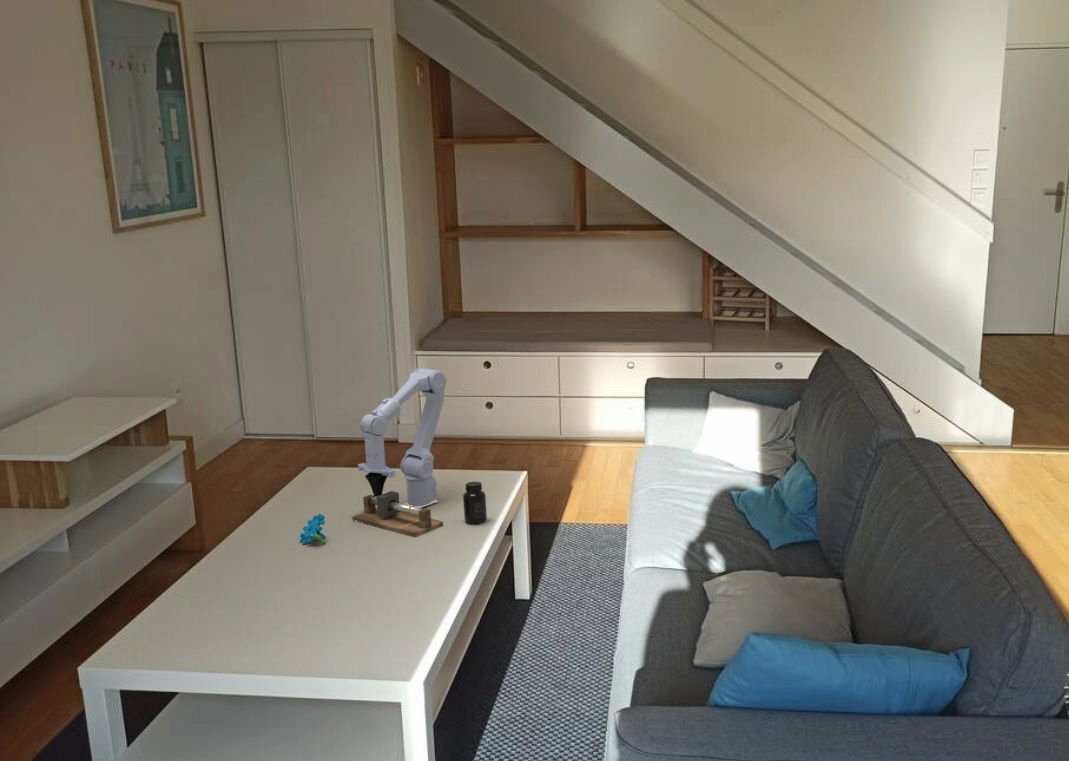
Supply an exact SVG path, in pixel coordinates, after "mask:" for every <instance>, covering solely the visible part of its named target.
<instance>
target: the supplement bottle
mask: <svg viewBox="0 0 1069 761" xmlns="http://www.w3.org/2000/svg"><path fill="white" fill-rule="evenodd" d="M486 495H487V494H486V492H485V491H483V486H482V482H481V481H470V482H466V483H465V492H464V493H463V496H462V498H463V514H464V516H463V518H464V522H465V523H466V524H467V525H470V526H471V525H475V526H476V525H481V524H484V522H485V523H486V522H487V520H488V515H487V514H488V513H487V498H486Z"/></svg>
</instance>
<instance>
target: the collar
mask: <svg viewBox="0 0 1069 761" xmlns="http://www.w3.org/2000/svg"><path fill="white" fill-rule="evenodd" d="M376 498H377V505H376V507H377V511H378V517H382V518H387V517H389V516H392V515H395V514H397V513H400V511H397V510H393V509H389V508H388V501H391V502H395V503H399V504H400V493H399V492H398V491H392V490H390V491H389V492H388V491H387V492H386V493H382V495H379V496H377V497H376Z"/></svg>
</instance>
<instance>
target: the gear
mask: <svg viewBox="0 0 1069 761" xmlns="http://www.w3.org/2000/svg"><path fill="white" fill-rule="evenodd" d="M325 518H326V517H325V515H323V514H321V513H318V514H317V515H316V514H315V515H313V516H312V519H309V520H307V521H306V523H307V526H306V525H304V526H303V528H302V531H304V532H300V535H299V537H300V538H299V542H300V543H303V544H304V545H307V543H311V542H312V541H313V539H315V541H317V542H321V543H322V544H323V545H327V541H326V540H325V539H326V538H327V536H326V535H325V534H324V533H322V532H321V531H322V530H323V527H322V526H323V525H324V524H326V520H325ZM321 525H322V526H321Z"/></svg>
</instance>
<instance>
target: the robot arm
mask: <svg viewBox="0 0 1069 761" xmlns="http://www.w3.org/2000/svg"><path fill="white" fill-rule="evenodd" d="M447 381H448V380H447V377H446V376H445V374H444V372H443V371H441V370H439V369H437V370H435V369H430V368H425V367H421V366H420V367H417V368H415V369H414V370H413V371H412V372H411V373H410V374H409V378H408V380H407V381H406V382H405V383H404V384H403V385H402V386H401V387H400V389H399V390H398V391H397V392H396V394H394V396H393V397H387V398H383V399H382V401H381V404H379V405H378V406H377V407H376V408H375V409H373V410H372V411H371V413H368V414H365V415H364V416H363V417H362V418H361V420H360V424H359V429H360V431H361V432H362V435H363V438H364V447H365V448H364V451H365V462H366V463H365V462H361V463H358V464H357V470H358V471H364V472H365V473H368V474H365V476H364V477H365V479H366V480H367V482H368V483H369V485H370V488H371V490H372V495H374V496H375V498H377V496H379V495H382V494H383V491H384V487H385V483H386V480H387V479H388V478H389V479H391V478H395V477H396V470H395V469H392V468H390V467H388V466H387V465H386V454H385V453H386V452H385V440H384V439H385V437H384V433H386V431H387V428H388V425H389V424H390V421H392V420H393V419H394V418H395V417H397V414H399V413H400V412H401V406H402V405H403V404H404V403H405V402H406V401H408V400H409V399H410V398H412V397H413V395H415V394H416V393H417V392H421V393H422V394H423V396H424V397H425V403H424V406H423V410H422V414H421V416H420V419H419V424H418V427H417V431H416V434H415V438H414V439H415V440H414V441H413V446H411V447H410V448H409V449H407V450H406V451H405V455H404V456H403V458H402V459H401V462H400V471H401V472H402V473H403V474H404V478H405V480H406V481H405V482H406V498H407V502H408V504H409V505H412V506H423V505H426V504H428V503H430V502H431V501H433V500H436V499H437V500H438V488H437V480H436V479H435V476H434V475H433V472H434V460H435V457H434V455H433V454H432V452H431V447H432V444H433V440H434V436H435V433H436V428H437V426H438V423H439V418H440V415H441V411H442V407H443V404H444V401H445V388H446V385H447Z"/></svg>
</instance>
